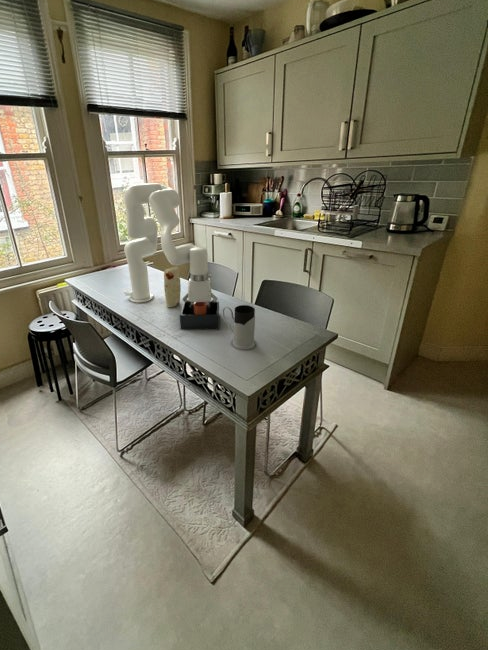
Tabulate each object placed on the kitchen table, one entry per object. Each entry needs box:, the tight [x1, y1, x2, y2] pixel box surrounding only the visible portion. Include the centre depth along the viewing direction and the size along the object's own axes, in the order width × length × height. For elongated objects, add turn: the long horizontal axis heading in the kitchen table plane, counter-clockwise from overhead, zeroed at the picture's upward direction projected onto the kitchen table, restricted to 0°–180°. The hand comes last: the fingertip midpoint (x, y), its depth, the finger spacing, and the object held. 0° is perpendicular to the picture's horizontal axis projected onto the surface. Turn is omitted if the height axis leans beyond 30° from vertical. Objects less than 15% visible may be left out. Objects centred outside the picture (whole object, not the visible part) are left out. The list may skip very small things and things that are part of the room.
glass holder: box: [222, 304, 256, 350], centre depth 123 cm, size 9×14×15 cm, turn 49°
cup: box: [193, 302, 207, 315], centre depth 141 cm, size 6×6×8 cm
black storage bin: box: [179, 300, 220, 330], centre depth 142 cm, size 17×15×7 cm
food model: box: [163, 266, 182, 308], centre depth 157 cm, size 10×7×20 cm
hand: (200, 314), depth 142 cm, fingers closed on cup, 6 cm apart
